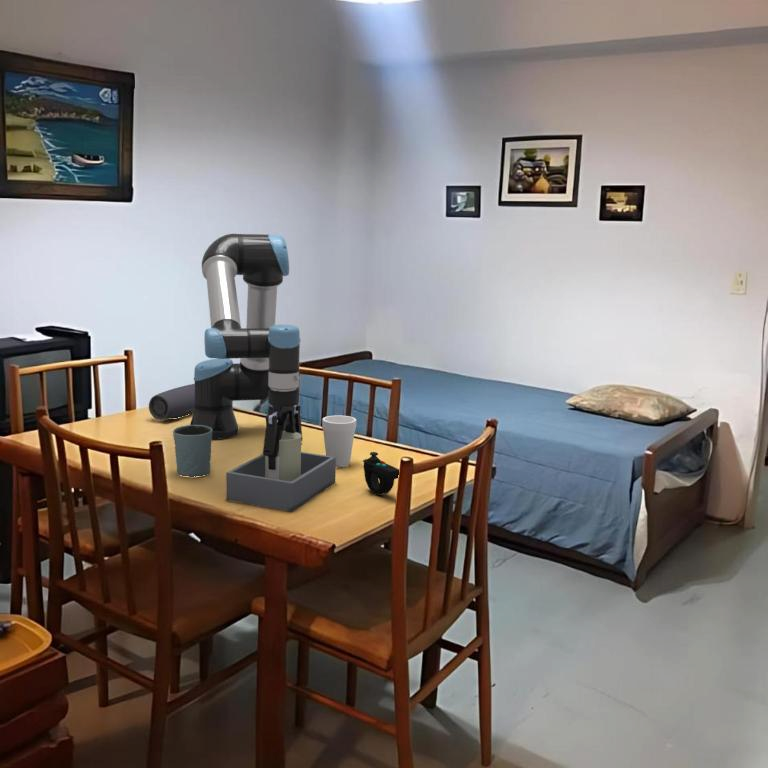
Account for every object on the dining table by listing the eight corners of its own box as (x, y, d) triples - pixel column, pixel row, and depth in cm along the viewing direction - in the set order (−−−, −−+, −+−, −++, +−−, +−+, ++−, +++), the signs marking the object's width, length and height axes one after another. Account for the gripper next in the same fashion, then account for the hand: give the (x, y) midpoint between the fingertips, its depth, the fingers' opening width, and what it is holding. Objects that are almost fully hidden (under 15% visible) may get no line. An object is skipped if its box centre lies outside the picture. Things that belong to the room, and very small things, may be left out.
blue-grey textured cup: (212, 466, 224) (212, 424, 222) (213, 478, 215) (212, 434, 212) (174, 468, 222) (173, 425, 220) (173, 479, 213) (172, 435, 210)
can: (285, 487, 200) (286, 440, 198) (256, 480, 205) (256, 434, 202) (308, 478, 208) (309, 432, 205) (280, 471, 212) (280, 426, 210)
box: (274, 472, 221) (274, 447, 220) (335, 482, 215) (335, 456, 213) (226, 500, 199) (226, 472, 198) (292, 511, 193) (292, 483, 191)
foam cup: (322, 469, 225) (323, 423, 223) (320, 459, 234) (320, 415, 232) (357, 469, 227) (358, 423, 224) (353, 459, 236) (354, 415, 233)
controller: (373, 486, 213) (374, 449, 211) (402, 499, 203) (403, 461, 201) (359, 488, 211) (360, 451, 208) (388, 503, 201) (389, 464, 199)
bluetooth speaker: (189, 407, 290) (189, 380, 288) (211, 411, 286) (211, 383, 284) (147, 421, 270) (146, 391, 268) (170, 425, 266) (169, 395, 264)
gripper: (275, 398, 190) (275, 490, 195) (316, 382, 210) (315, 466, 215) (247, 394, 193) (247, 486, 197) (290, 379, 213) (290, 462, 217)
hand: (283, 475), depth 206 cm, fingers closed on can, 9 cm apart
